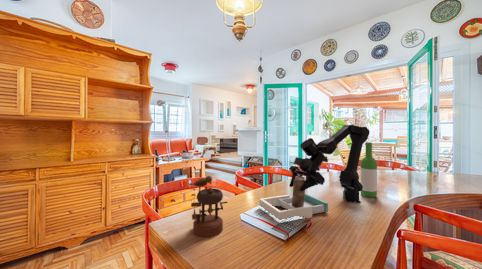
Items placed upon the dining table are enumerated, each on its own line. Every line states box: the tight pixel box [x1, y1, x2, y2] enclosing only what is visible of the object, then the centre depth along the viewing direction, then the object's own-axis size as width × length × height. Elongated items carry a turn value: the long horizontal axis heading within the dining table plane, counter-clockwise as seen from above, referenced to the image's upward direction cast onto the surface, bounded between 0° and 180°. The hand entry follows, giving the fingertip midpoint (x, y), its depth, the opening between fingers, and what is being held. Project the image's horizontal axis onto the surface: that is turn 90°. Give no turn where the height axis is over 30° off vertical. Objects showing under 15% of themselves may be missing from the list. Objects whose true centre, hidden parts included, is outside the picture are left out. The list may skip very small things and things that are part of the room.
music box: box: [188, 175, 228, 239], centre depth 71 cm, size 15×11×20 cm
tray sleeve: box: [258, 194, 313, 220], centre depth 86 cm, size 16×17×4 cm
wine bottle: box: [360, 141, 378, 198], centre depth 109 cm, size 8×8×30 cm
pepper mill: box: [291, 176, 306, 208], centre depth 88 cm, size 5×5×14 cm
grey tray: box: [279, 193, 329, 215], centre depth 89 cm, size 16×15×4 cm
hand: (295, 188), depth 88 cm, fingers open, 7 cm apart
